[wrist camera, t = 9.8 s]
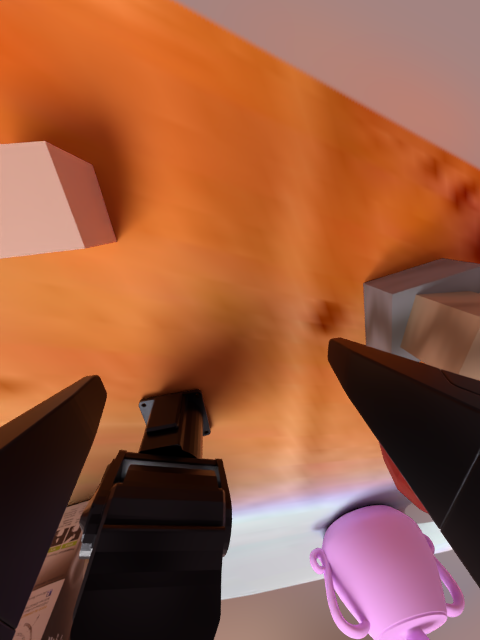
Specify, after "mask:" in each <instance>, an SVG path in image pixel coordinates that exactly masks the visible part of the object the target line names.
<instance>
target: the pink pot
mask: <svg viewBox="0 0 480 640" xmlns="http://www.w3.org/2000/svg"><path fill="white" fill-rule="evenodd" d="M434 551H435V549H434V545H433V543H432V541H431V540H430V538H429V537H428V536H426V535H425V534H423V533H422V531H421V530H420V528H419V527H418V525H417V523H416V522H415V521H414V520H413V519H411V518H410V517H409V516H407V515H406V514H404V513H402V512H400V511H399V510H396V509H394V508H392V507H390V506H386V505H373V506H367V507H363V508H360V509H357V510H354V511H351V512H349V513H346V514H344V515H342V516H341V517H340V518H339V519H337V520H336V521H335V522H334V523H332V524H331V525H330V527H329V528H328V529H327V531H326V533H325V536H324V540H323V545H322V549H321V548H316V549H314V550H313V551H312V552H311V554H310V563H311V566H312V568H313V570H314V571H315V572H316V573H318V574H323V573H324V578H325V586H326V592H327V598H328V604H329V608H330V611H331V614H332V617H333V619H334V621H335V623H336V625H337V626H338V628H339V629H340V630H341V631H342V632H343V633H344V634H346V635H347V636H349V637H351V638H354V639H361V638H363V637H365V636H366V635H367V634H369V635H370V636H371V637H372V638H373V639H374V640H430V639H429V638H428V637H427V636H426V634H428V633H430V632H432V631H434V630H435V629H437V628H438V627H440V626H441V625H443V624H444V623H445V622H446V620H447V616H450V617H456V616H459V615H460V614H461V613H462V611H463V610H464V605H465V602H464V597H463V594H462V591H461V589H460V588H459V586H458V585H457V583H456V582H455V580H454V579H453V578H452V576H451V575H450V574H449V572H448V571H447V570H446V569H445V568H444V566H443V565H442V564H441V563H440V562H439V561H438V560H437V559H436V558H435V556H434V555H433V554H434ZM317 558H319V559H320V561H321V563H322V566H319V565H318V563H317V561H316V559H317ZM441 580H442V581H443V582H444V584H445V585H446V587H447V588H448V590H449V591H450V593H451V595H452V597H453V601H454V602H453V604H447V603H445V598H444V593H443V588H442V584H441ZM334 589H335V591H336V592H337V594H338V595H339V597H340V598H341V600H342V601H343V603H344V604H345V605H346V607H347V608H348V609H349V611H350V612H351V613H352V615H353V616H354V617H355V618H356V619H357V620H358V622H359V623H360V624H358V625H352V624H350V623H348V622H347V621H346V620H345V619H344V617H343V616H342V614H341V612H340V609H339V607H338V604H337V600H336V596H335V591H334Z"/></svg>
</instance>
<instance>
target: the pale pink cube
mask: <svg viewBox="0 0 480 640" xmlns="http://www.w3.org/2000/svg"><path fill="white" fill-rule="evenodd" d="M113 242H117V241H116V237H115V234H114V231H113V228H112V225H111V222H110V218H109V215H108V212H107V209H106V206H105V203H104V199H103V196H102V193H101V190H100V187H99V184H98V180H97V177H96V174H95V171H94V168H93V165H92V164H90V163H88V162H86V161H84V160H82V159H80V158H78V157H76V156H74V155H72V154H70V153H68V152H66V151H64V150H62V149H60V148H58V147H56V146H54V145H52V144H50V143H48V142H46V141H38V142H26V143H14V144H1V145H0V258H9V257H17V256H25V255H34V254H42V253H50V252H59V251H67V250H75V249H84V248H89V247H94V246H99V245H104V244H109V243H113Z"/></svg>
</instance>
